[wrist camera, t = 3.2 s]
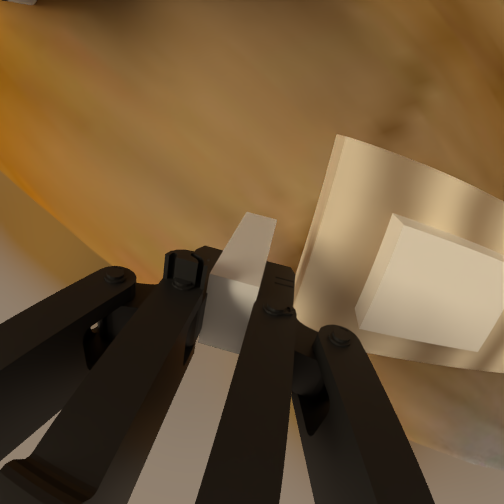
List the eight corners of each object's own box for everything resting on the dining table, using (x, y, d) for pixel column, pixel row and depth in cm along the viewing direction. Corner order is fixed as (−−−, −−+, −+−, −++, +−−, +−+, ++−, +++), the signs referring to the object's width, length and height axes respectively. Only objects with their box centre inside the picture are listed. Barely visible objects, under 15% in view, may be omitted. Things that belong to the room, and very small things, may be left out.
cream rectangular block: (507, 256, 15) (523, 270, 13) (466, 334, 17) (477, 352, 15) (392, 212, 15) (403, 224, 13) (354, 308, 18) (359, 328, 16)
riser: (547, 227, 17) (575, 245, 13) (489, 345, 22) (505, 373, 18) (336, 134, 18) (345, 136, 14) (287, 300, 23) (283, 334, 19)
